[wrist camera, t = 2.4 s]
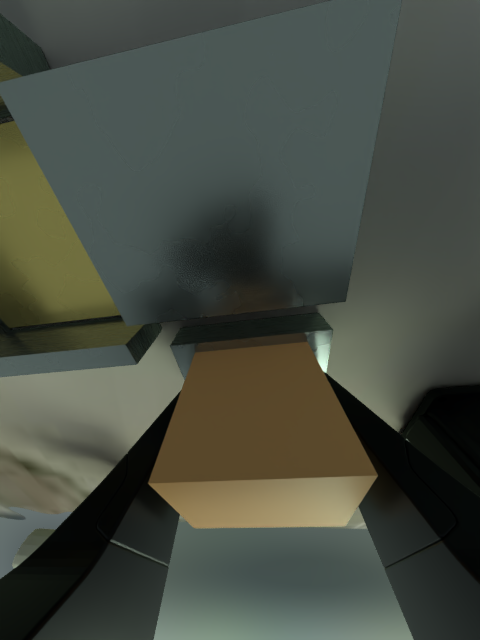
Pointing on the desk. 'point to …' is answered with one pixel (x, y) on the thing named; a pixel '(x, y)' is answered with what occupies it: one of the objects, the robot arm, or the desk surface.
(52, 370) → the sliding lid box
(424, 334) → the desk surface
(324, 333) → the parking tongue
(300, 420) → the block
